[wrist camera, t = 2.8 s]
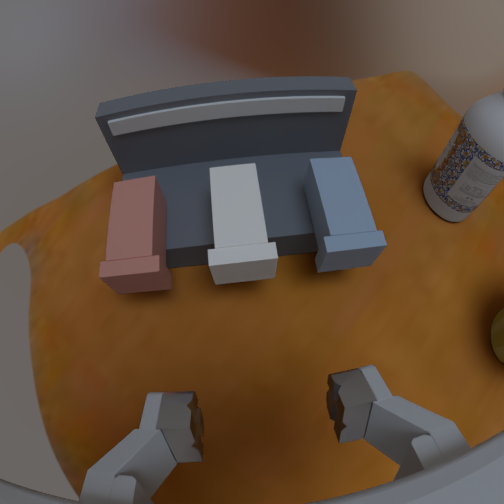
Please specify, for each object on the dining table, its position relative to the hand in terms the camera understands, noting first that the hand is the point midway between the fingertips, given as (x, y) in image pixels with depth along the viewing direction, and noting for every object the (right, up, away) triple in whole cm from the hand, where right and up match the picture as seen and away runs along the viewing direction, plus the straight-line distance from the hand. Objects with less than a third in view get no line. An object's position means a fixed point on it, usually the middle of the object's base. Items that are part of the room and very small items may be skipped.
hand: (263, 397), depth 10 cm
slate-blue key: (+7, +7, +18) cm, 20 cm away
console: (-2, +9, +23) cm, 25 cm away
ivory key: (-1, +6, +17) cm, 18 cm away
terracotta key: (-9, +5, +17) cm, 20 cm away
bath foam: (+23, +11, +24) cm, 35 cm away
